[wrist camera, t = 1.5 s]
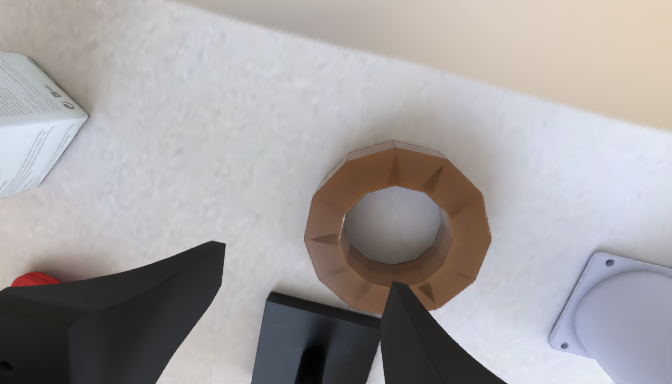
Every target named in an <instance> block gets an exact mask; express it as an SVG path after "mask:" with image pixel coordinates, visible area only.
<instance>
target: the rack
mask: <svg viewBox="0 0 672 384" xmlns="http://www.w3.org/2000/svg"><path fill="white" fill-rule="evenodd" d="M380 332H381V319H379V318H375V317H371V316H367V315H363V314H359V313H355V312H351V311H347V310H343V309H339V308H335V307H331V306H327V305H323V304H319V303H315V302H311V301H307V300H303V299H299V298H295V297H291V296H287V295H283V294H279V293H275V292H270V294H269V296H268V298H267V300H266V304H265V309H264V315H263V321H262V326H261V332H260V337H259V343H258V348H257V354H256V359H255V365H254V370H253V376H252V381H251V384H366V382H367V379H368V376H369V373H370V370H371V366H372V363H373V360H374V357H375V354H376V351H377V348H378V345H379V342H380Z"/></svg>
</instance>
